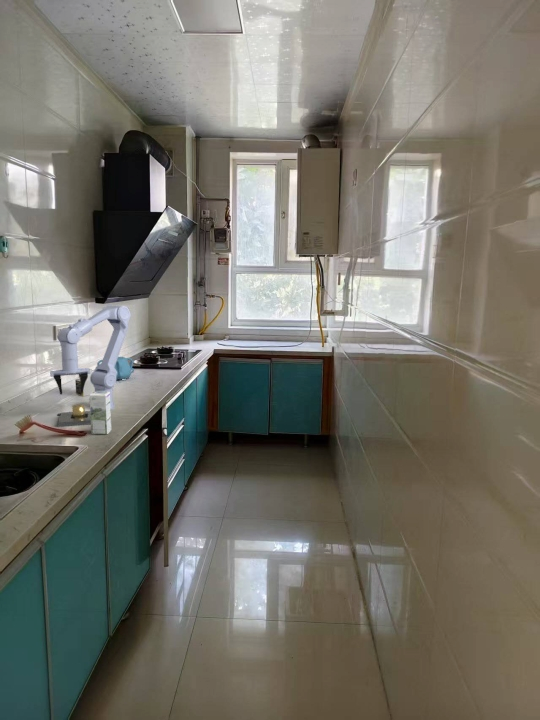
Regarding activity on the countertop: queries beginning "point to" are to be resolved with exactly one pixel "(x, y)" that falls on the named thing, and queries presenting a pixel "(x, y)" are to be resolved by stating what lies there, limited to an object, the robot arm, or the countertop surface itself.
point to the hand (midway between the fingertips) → (71, 393)
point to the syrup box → (100, 412)
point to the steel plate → (68, 420)
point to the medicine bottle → (85, 386)
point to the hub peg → (78, 411)
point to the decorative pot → (122, 367)
